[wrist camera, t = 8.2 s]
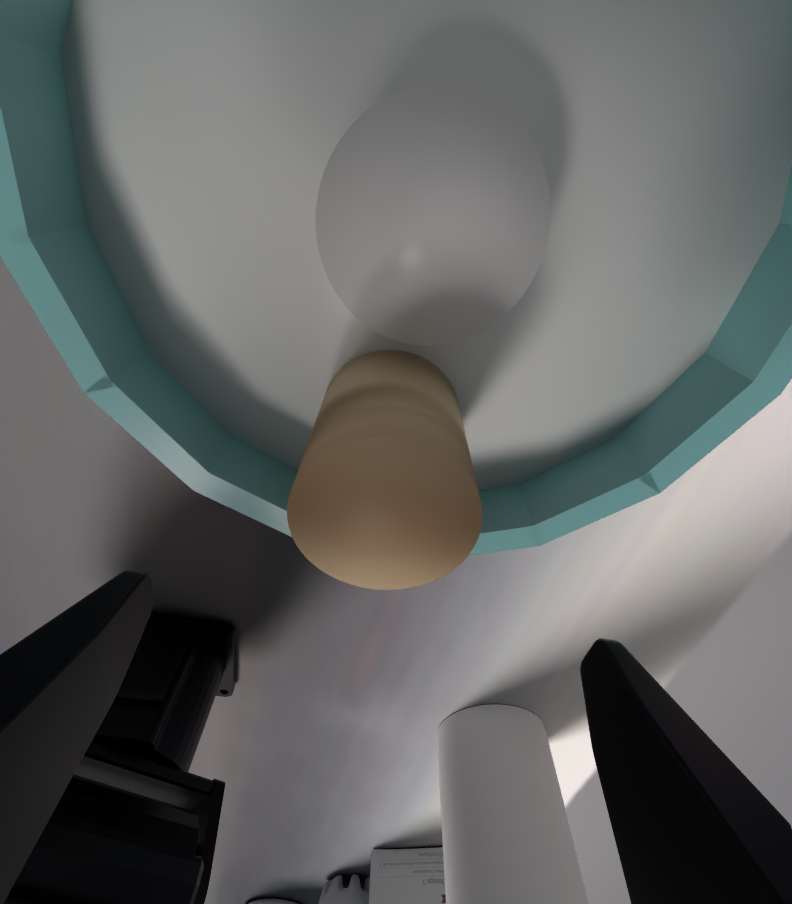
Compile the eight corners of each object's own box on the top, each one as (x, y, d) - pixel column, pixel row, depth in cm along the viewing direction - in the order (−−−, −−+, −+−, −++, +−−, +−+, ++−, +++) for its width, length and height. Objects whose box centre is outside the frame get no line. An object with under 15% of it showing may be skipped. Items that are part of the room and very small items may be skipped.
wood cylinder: (439, 481, 18) (452, 601, 13) (315, 459, 18) (279, 574, 13) (476, 365, 16) (510, 460, 11) (332, 336, 15) (295, 420, 10)
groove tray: (612, 544, 21) (646, 605, 18) (100, 461, 19) (45, 514, 16) (1104, -277, 9) (1432, -485, 6) (-111, -715, 7) (-460, -1316, 4)
